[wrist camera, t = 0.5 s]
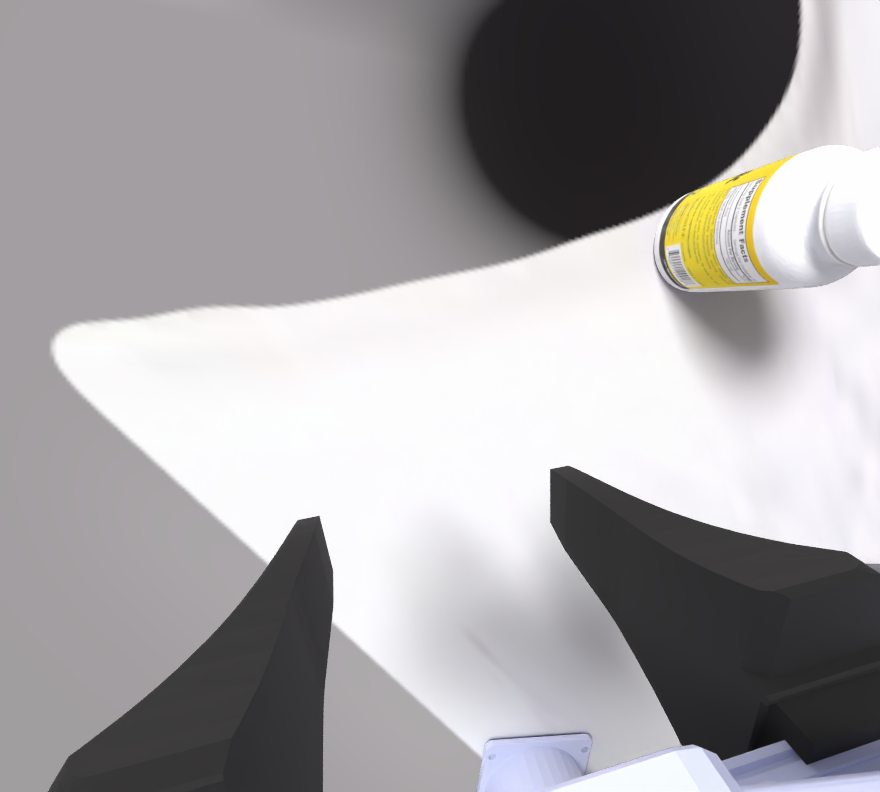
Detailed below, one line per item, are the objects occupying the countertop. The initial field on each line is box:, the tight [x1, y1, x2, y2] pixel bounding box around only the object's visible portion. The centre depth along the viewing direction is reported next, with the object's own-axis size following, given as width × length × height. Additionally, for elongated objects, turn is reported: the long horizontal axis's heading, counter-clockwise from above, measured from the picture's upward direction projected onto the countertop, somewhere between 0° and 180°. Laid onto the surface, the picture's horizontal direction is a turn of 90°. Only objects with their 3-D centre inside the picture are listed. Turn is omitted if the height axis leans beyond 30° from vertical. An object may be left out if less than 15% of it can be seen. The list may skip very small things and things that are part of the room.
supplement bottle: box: [654, 145, 880, 292], centre depth 19 cm, size 5×5×10 cm
